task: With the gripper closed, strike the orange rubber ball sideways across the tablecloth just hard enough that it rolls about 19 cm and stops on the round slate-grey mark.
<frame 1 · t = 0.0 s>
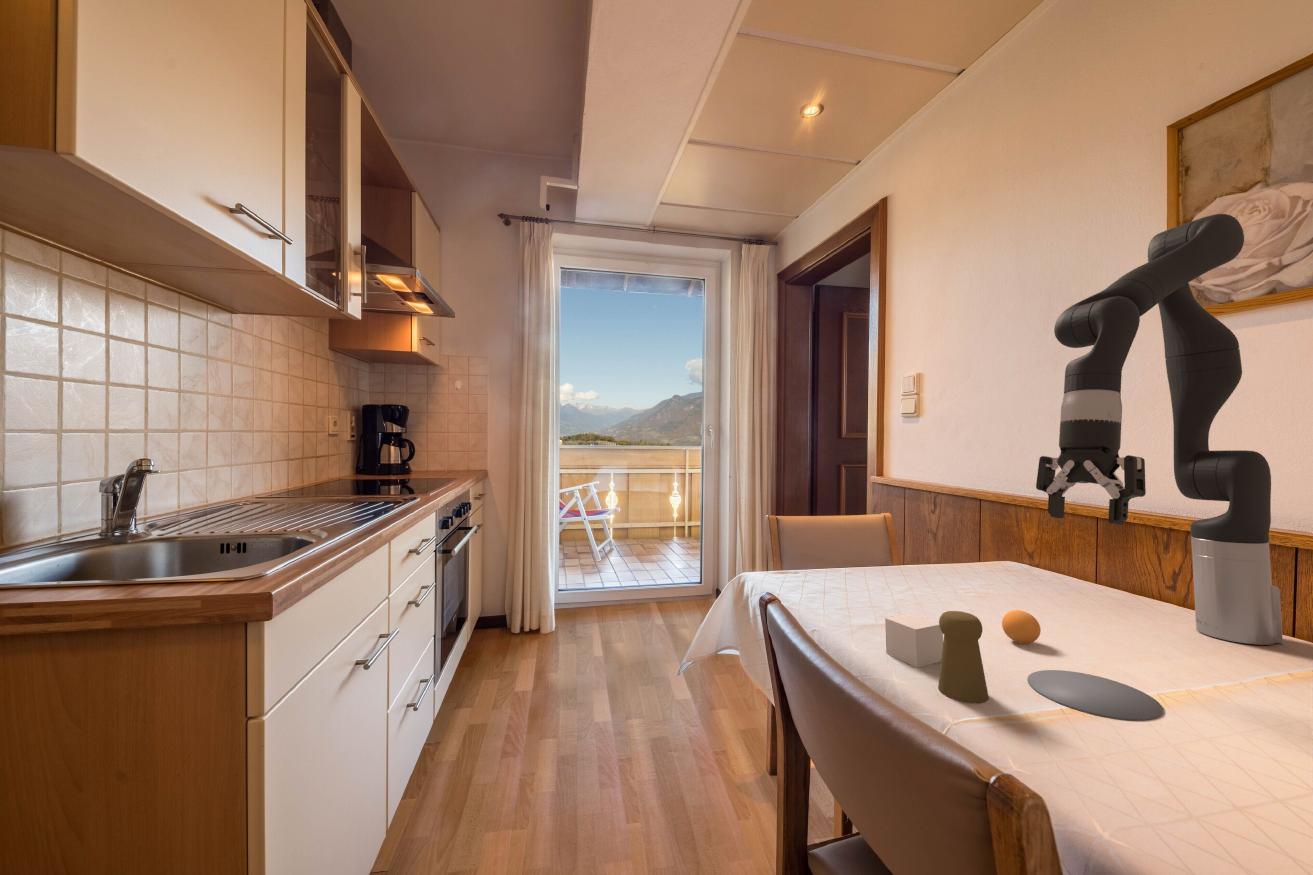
hand: (1084, 520, 79), 22 cm above the table, tool pointing down, fingers open, 8 cm apart
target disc: (1090, 693, 68), on the table
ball: (1020, 626, 87), on the table
cork: (962, 694, 69), on the table
grey cube: (914, 658, 81), on the table
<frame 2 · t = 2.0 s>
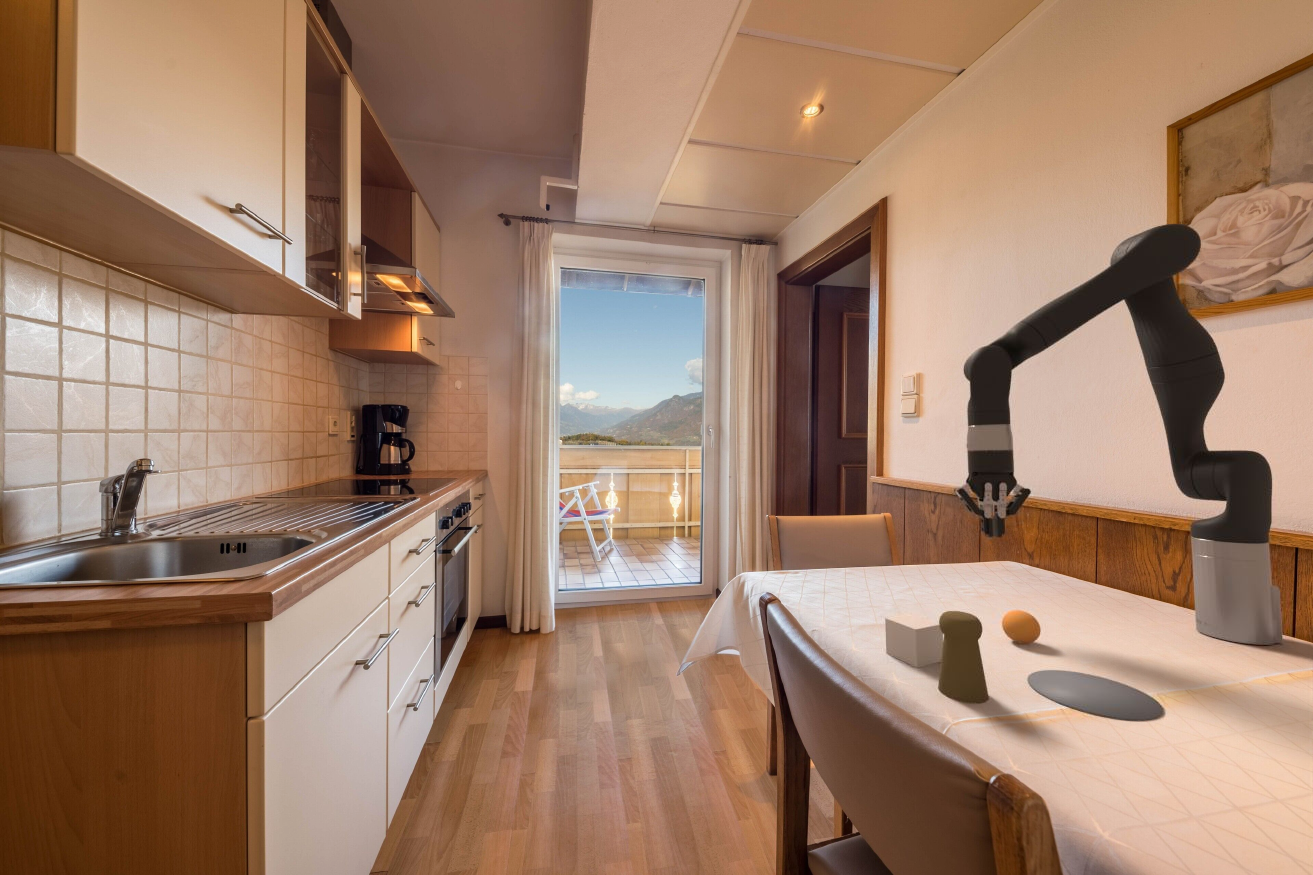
hand: (993, 536, 97), 17 cm above the table, tool pointing down, fingers closed
nothing on the table moved.
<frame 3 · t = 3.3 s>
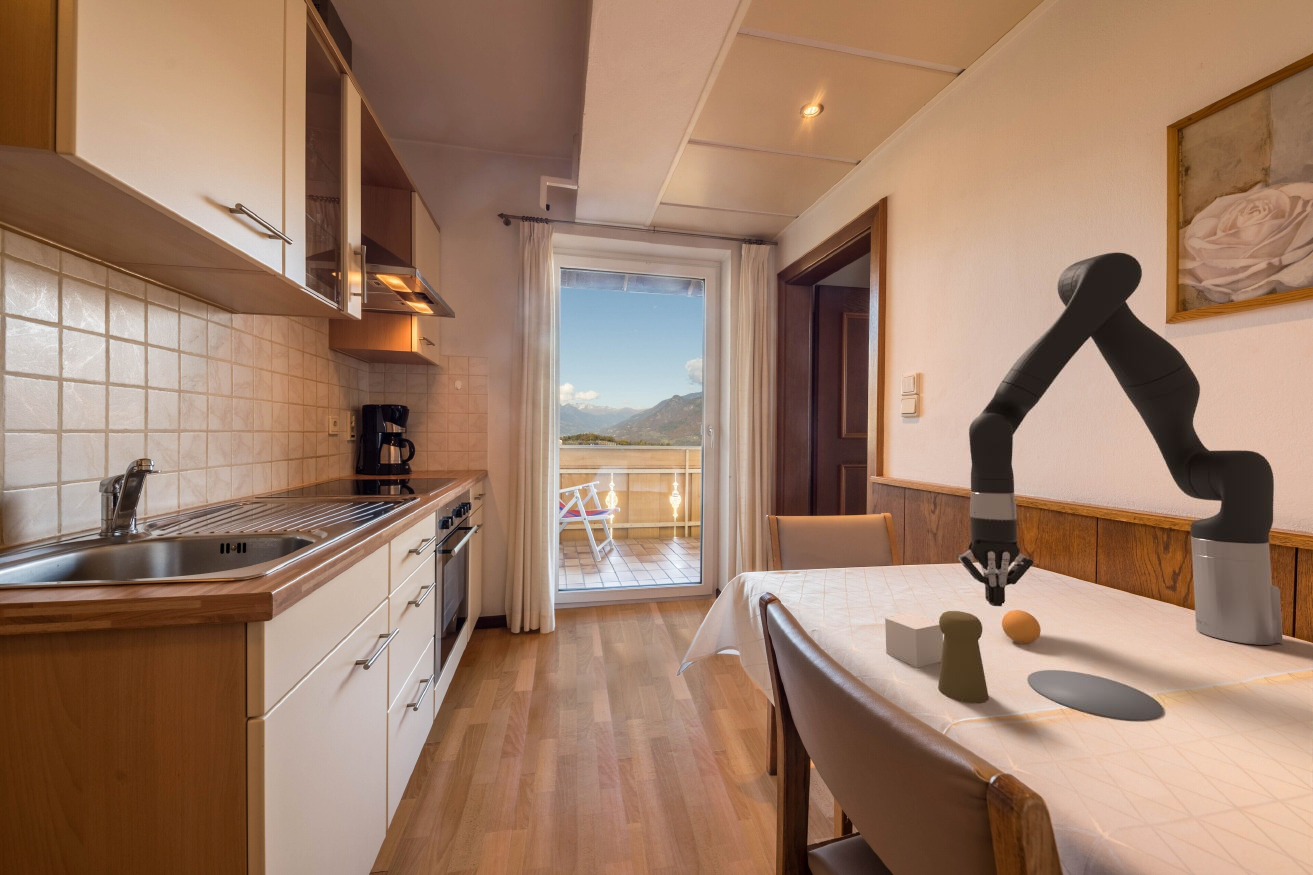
hand: (995, 604, 96), 4 cm above the table, tool pointing down, fingers closed
nothing on the table moved.
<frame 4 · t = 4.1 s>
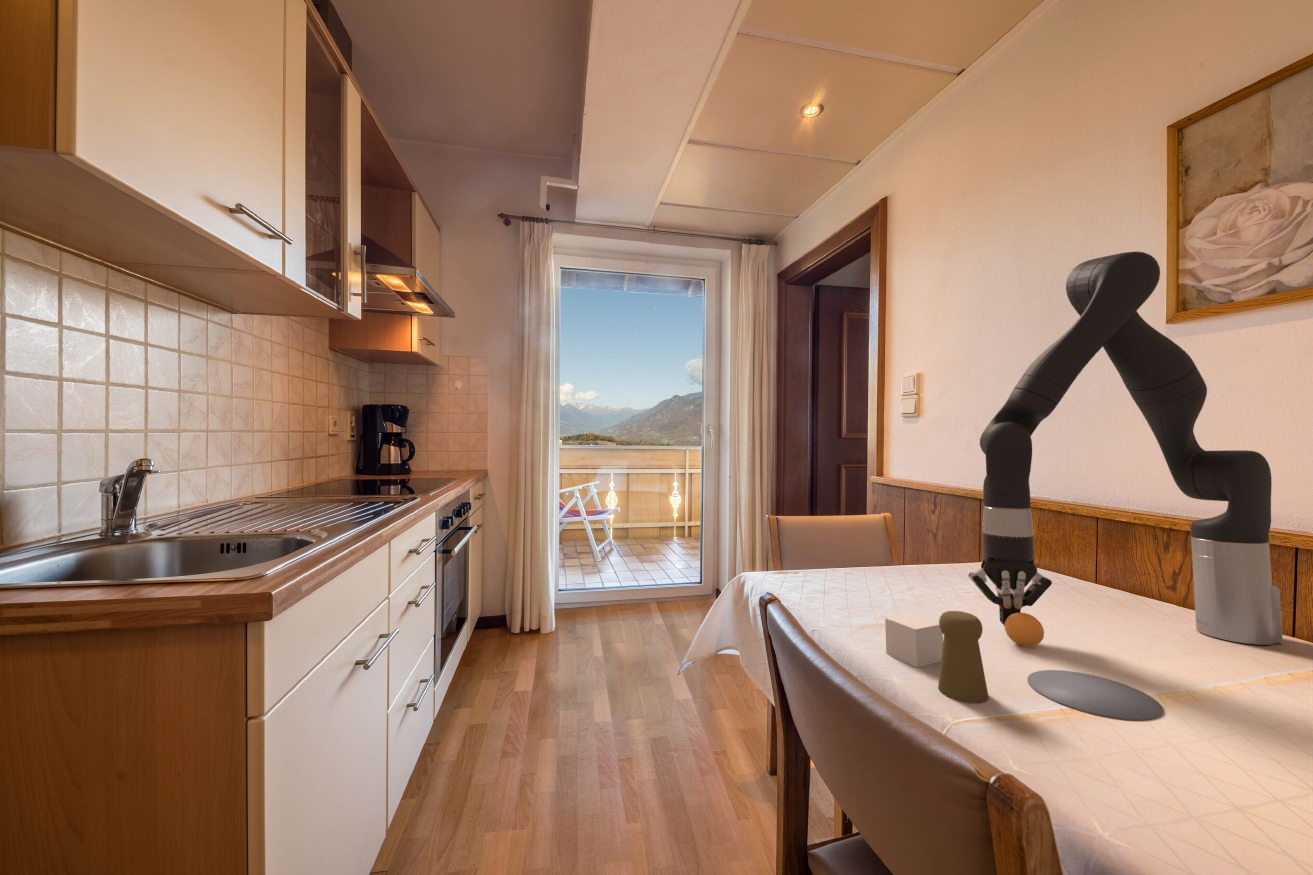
hand: (1010, 627, 89), 2 cm above the table, tool pointing down, fingers closed
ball: (1023, 629, 86), on the table, touching gripper
everything else where it was.
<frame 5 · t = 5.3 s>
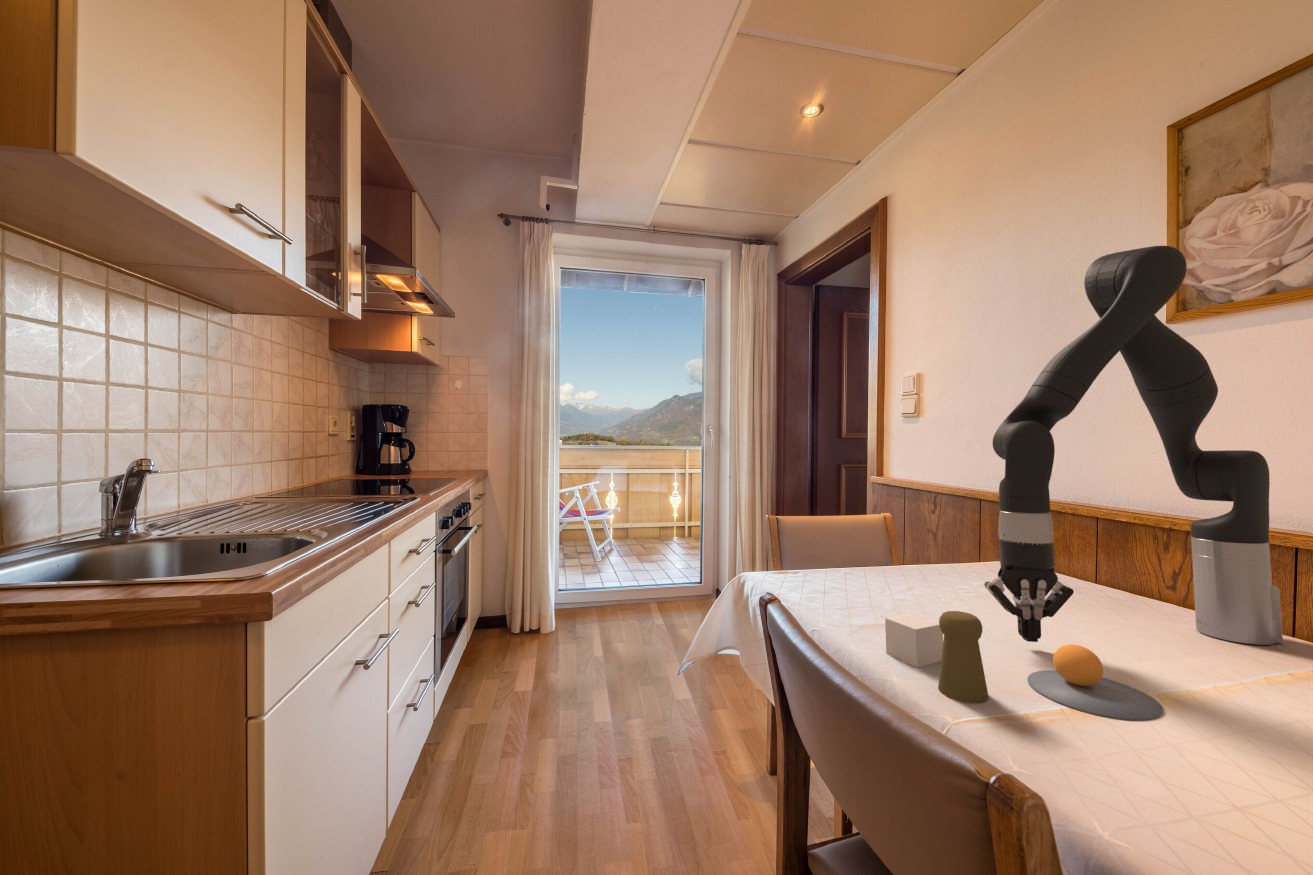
hand: (1030, 639, 84), 1 cm above the table, tool pointing down, fingers closed
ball: (1077, 665, 71), on the table
everything else where it was.
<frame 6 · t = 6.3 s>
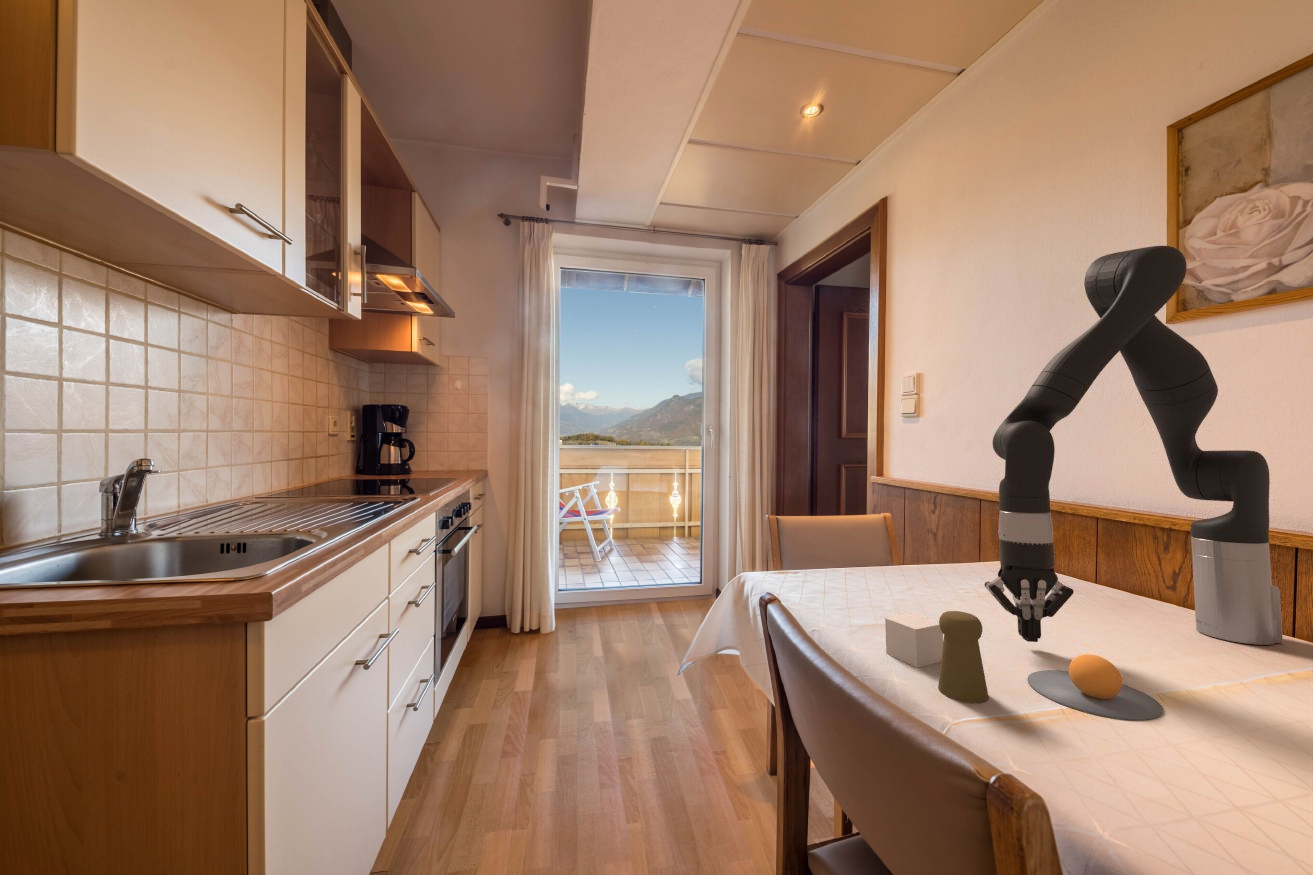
hand: (1030, 639, 84), 1 cm above the table, tool pointing down, fingers closed
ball: (1094, 676, 67), on the table
everything else where it was.
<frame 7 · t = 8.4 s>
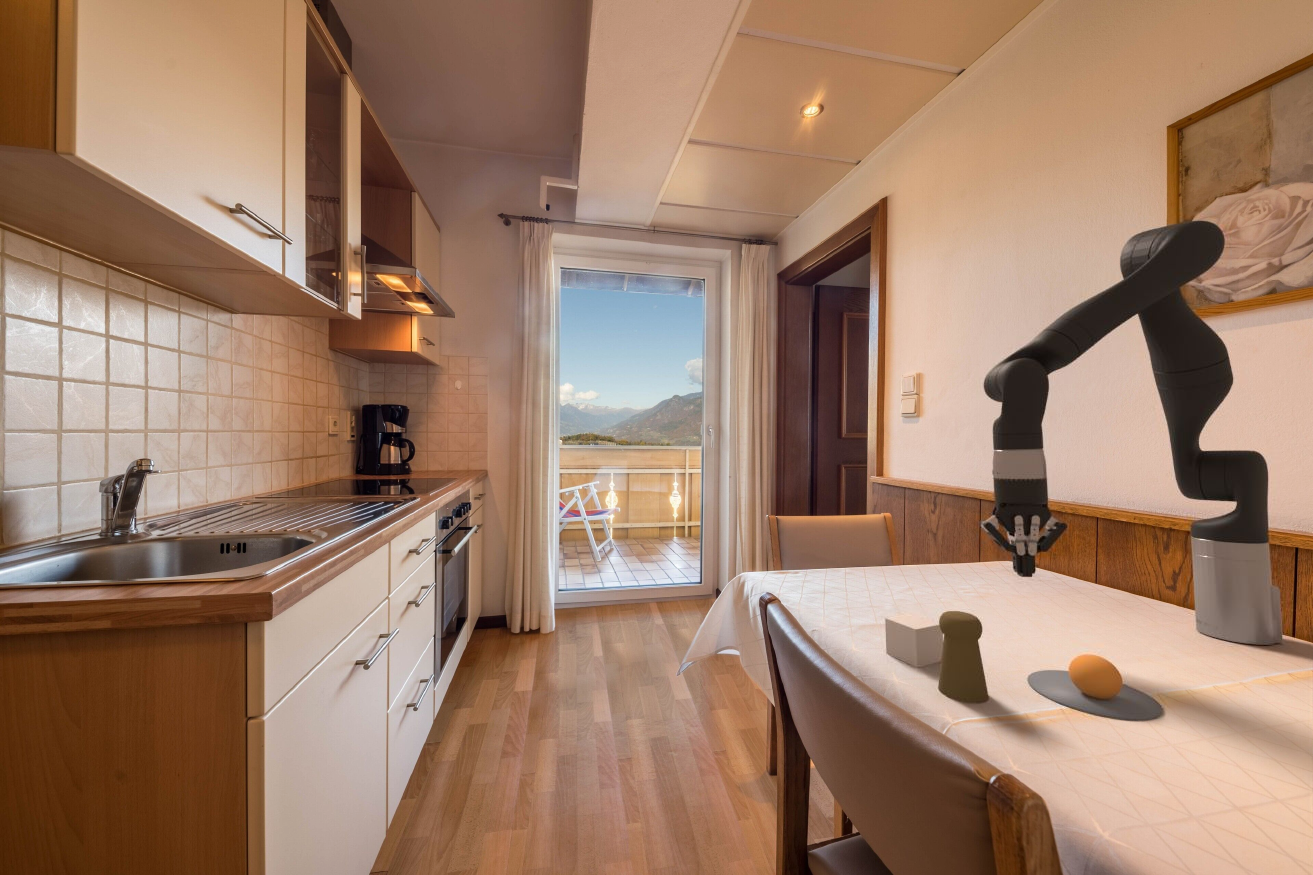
hand: (1024, 575, 85), 12 cm above the table, tool pointing down, fingers closed
nothing on the table moved.
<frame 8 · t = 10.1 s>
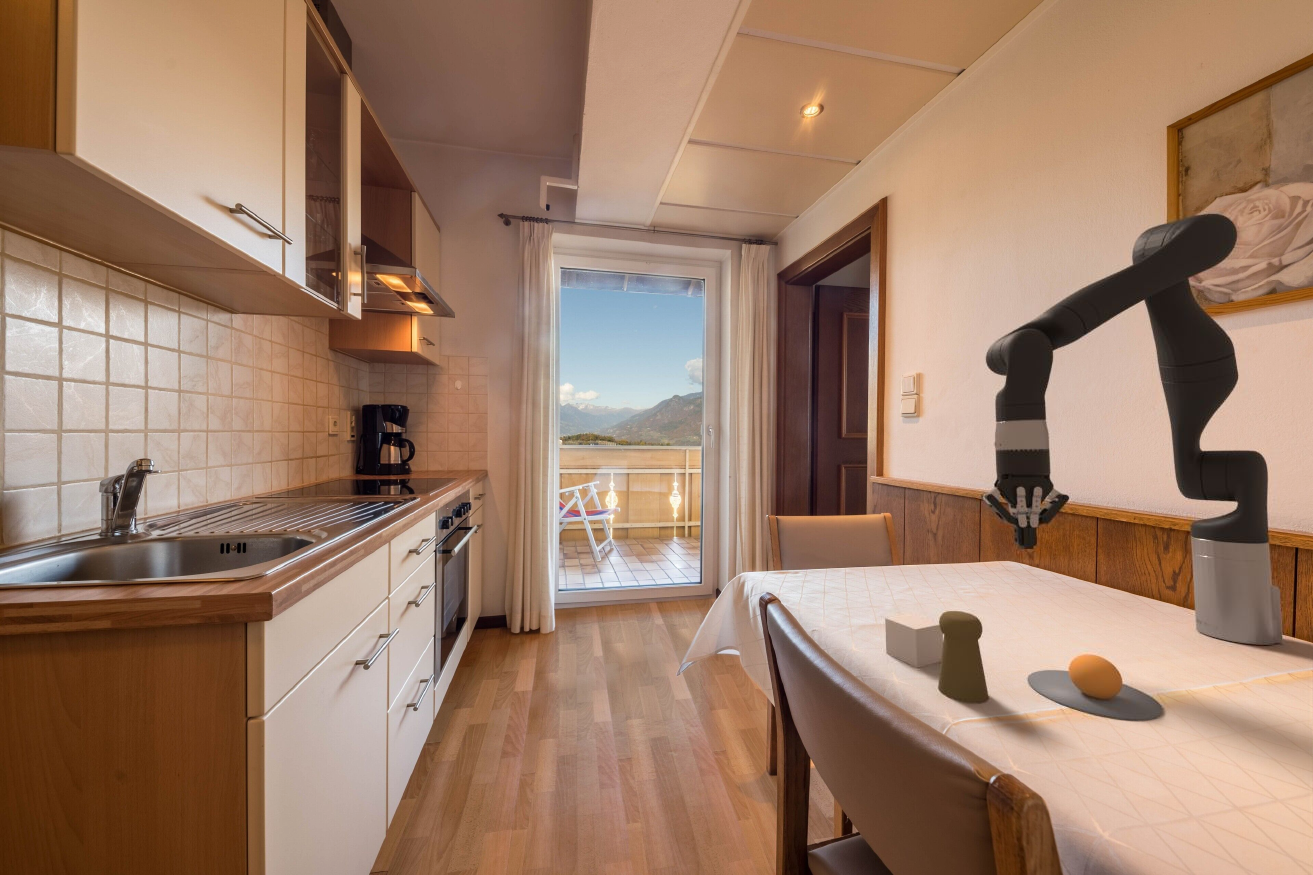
hand: (1026, 548, 85), 17 cm above the table, tool pointing down, fingers closed
nothing on the table moved.
at the end: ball 1.0 cm from the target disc (horizontally); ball at rest at the end (0.0 cm/s); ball moved 20.0 cm from its start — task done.
